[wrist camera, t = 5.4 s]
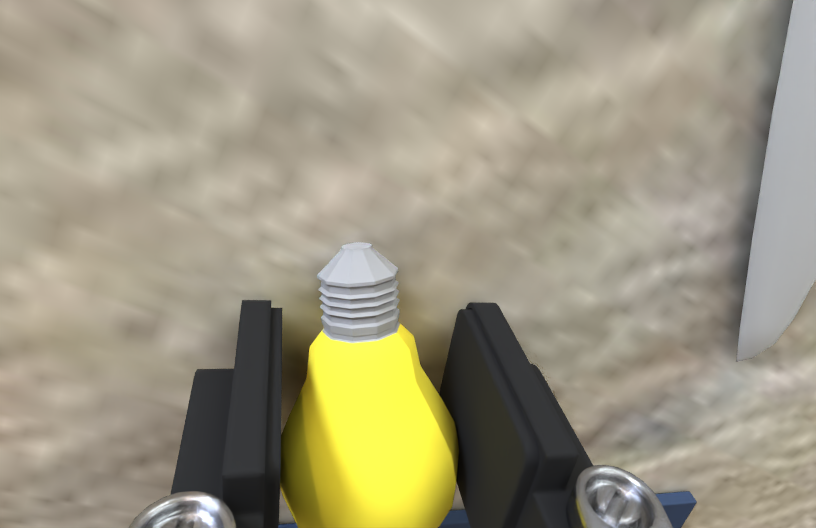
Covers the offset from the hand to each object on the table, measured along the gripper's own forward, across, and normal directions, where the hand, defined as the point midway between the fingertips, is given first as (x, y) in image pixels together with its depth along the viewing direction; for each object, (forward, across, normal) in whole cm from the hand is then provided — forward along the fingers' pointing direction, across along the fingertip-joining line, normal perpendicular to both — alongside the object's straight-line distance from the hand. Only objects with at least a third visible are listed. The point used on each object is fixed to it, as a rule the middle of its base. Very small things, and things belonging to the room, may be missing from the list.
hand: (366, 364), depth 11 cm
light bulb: (0, 0, 0) cm, 0 cm away
